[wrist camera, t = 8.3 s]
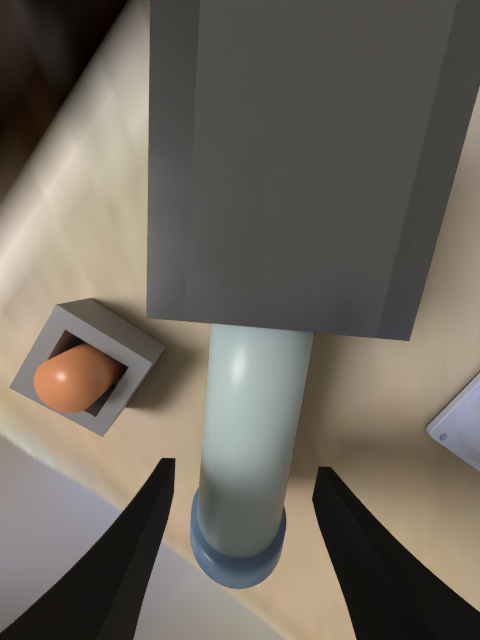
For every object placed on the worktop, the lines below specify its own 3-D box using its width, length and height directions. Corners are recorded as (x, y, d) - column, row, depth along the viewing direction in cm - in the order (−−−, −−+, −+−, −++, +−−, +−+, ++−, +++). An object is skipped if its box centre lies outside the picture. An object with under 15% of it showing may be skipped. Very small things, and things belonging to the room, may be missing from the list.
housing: (199, 110, 10) (152, -137, 4) (351, 132, 11) (519, -59, 5) (189, 293, 12) (146, 317, 6) (320, 306, 13) (408, 341, 6)
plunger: (137, 353, 12) (109, 378, 9) (114, 388, 13) (79, 423, 10) (95, 327, 12) (50, 345, 9) (72, 364, 12) (23, 393, 9)
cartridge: (215, 233, 11) (204, 203, 6) (312, 244, 11) (373, 224, 7) (197, 480, 14) (180, 587, 9) (273, 483, 15) (294, 589, 10)
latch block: (167, 346, 13) (152, 363, 10) (124, 407, 13) (102, 436, 11) (90, 298, 12) (56, 304, 10) (50, 366, 13) (9, 387, 10)
